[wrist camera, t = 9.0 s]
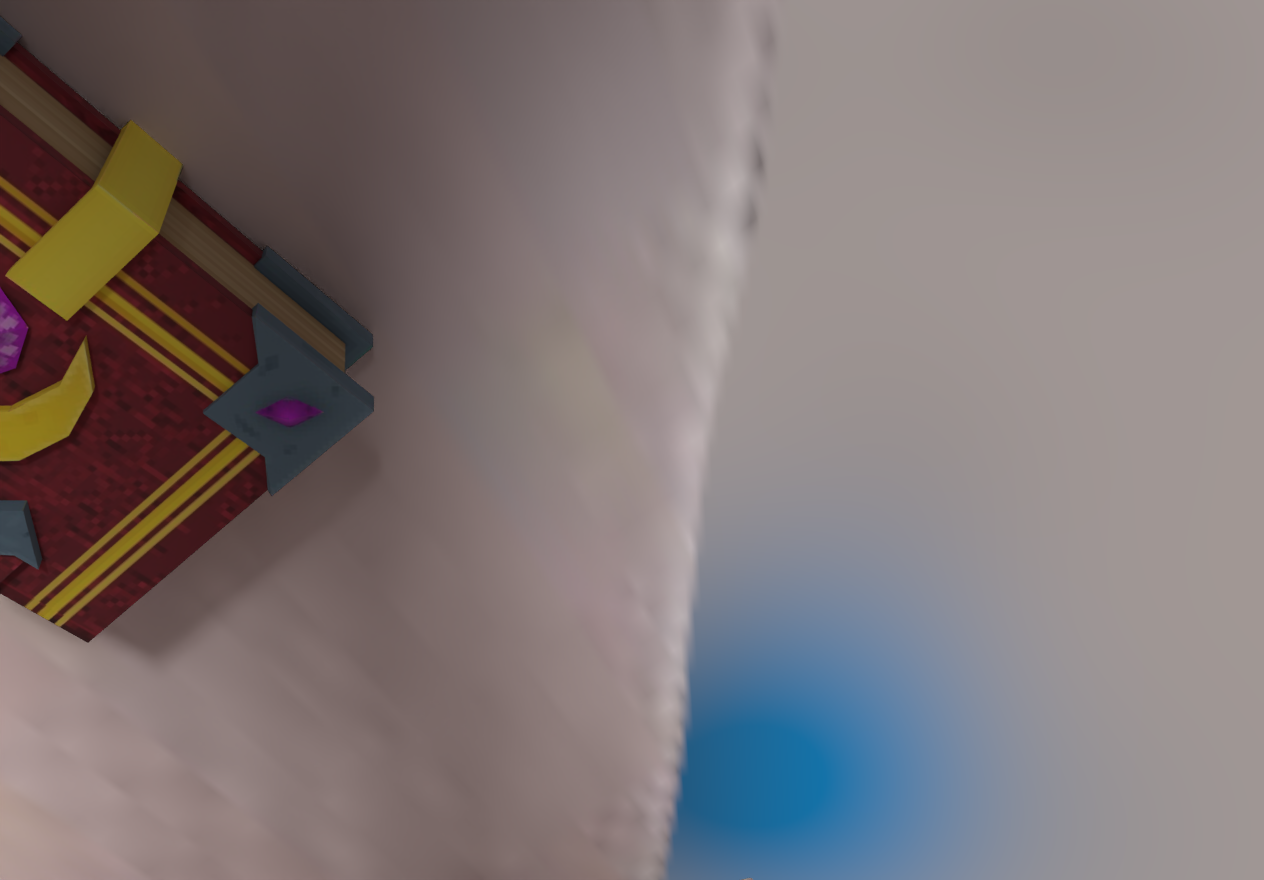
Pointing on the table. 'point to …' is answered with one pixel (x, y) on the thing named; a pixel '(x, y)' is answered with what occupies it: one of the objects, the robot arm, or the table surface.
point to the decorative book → (139, 359)
